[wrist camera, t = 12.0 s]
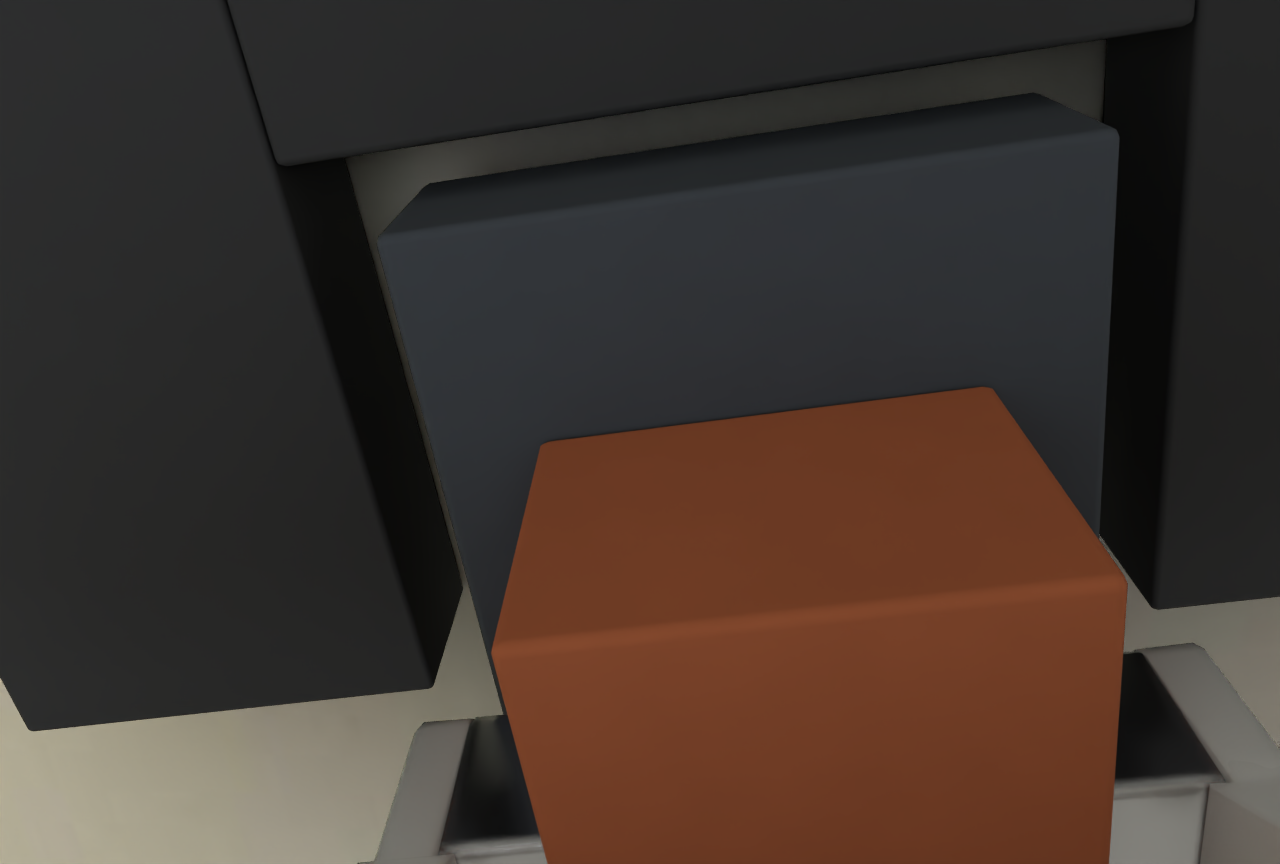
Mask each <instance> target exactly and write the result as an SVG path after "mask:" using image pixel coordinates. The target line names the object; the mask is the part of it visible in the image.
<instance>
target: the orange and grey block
mask: <svg viewBox="0 0 1280 864" xmlns="http://www.w3.org/2000/svg"><path fill="white" fill-rule="evenodd" d="M1119 139H1120V137H1119V134H1118V132H1117V129H1115V128H1112V127H1110V126H1108V125H1106V124H1104V123H1101V122H1099V121H1097V120H1095V119H1093V118H1091V117H1088V116H1086V115H1084V114H1082V113H1080V112H1077V111H1075V110H1073V109H1071V108H1069V107H1066V106H1064V105H1062V104H1060V103H1058V102H1056V101H1053V100H1051V99H1049V98H1047V97H1045V96H1042V95H1040V94H1036V93H1028V94H1021V95H1015V96H1008V97H1001V98H995V99H988V100H981V101H975V102H968V103H961V104H955V105H948V106H941V107H935V108H928V109H921V110H915V111H908V112H901V113H895V114H888V115H881V116H875V117H868V118H861V119H855V120H848V121H842V122H835V123H828V124H822V125H815V126H808V127H802V128H795V129H788V130H782V131H775V132H768V133H762V134H755V135H748V136H742V137H735V138H728V139H722V140H715V141H708V142H702V143H695V144H688V145H682V146H675V147H668V148H662V149H655V150H648V151H642V152H635V153H628V154H622V155H615V156H608V157H602V158H595V159H588V160H582V161H575V162H568V163H562V164H555V165H548V166H542V167H535V168H528V169H522V170H515V171H508V172H502V173H495V174H488V175H482V176H475V177H468V178H462V179H455V180H448V181H442V182H435V183H429V184H428V185H426V186H425V187H424V188H423V189H422V190H421V191H420V192H419V193H418V194H417V195H416V196H415V197H414V198H413V200H412V201H411V202H410V203H409V204H408V205H407V206H406V207H405V208H404V209H403V210H402V212H401V213H400V214H399V215H398V216H397V217H396V218H395V219H394V220H393V221H392V222H391V224H390V225H389V226H388V227H387V228H386V229H385V230H384V231H383V232H382V233H381V234H380V236H379V237H378V241H377V248H378V251H379V255H380V259H381V262H382V266H383V270H384V274H385V277H386V281H387V285H388V288H389V292H390V296H391V299H392V303H393V307H394V311H395V314H396V318H397V322H398V325H399V329H400V333H401V336H402V340H403V344H404V348H405V351H406V355H407V359H408V362H409V366H410V370H411V374H412V377H413V381H414V385H415V388H416V392H417V396H418V399H419V403H420V407H421V411H422V414H423V418H424V422H425V425H426V429H427V433H428V437H429V440H430V444H431V448H432V451H433V455H434V459H435V462H436V466H437V470H438V474H439V477H440V481H441V485H442V488H443V492H444V496H445V499H446V503H447V507H448V511H449V514H450V518H451V522H452V525H453V529H454V533H455V537H456V540H457V544H458V548H459V551H460V555H461V559H462V562H463V566H464V570H465V574H466V577H467V581H468V585H469V588H470V592H471V596H472V600H473V603H474V607H475V611H476V614H477V618H478V622H479V625H480V629H481V633H482V637H483V640H484V644H485V648H486V651H487V655H488V659H489V662H490V666H491V670H492V674H493V677H494V681H495V685H496V688H497V692H498V696H499V700H500V703H501V707H502V711H503V714H504V715H508V718H509V722H510V726H511V730H512V733H513V737H514V741H515V744H516V748H517V752H518V756H519V759H520V763H521V767H522V771H523V774H524V778H525V782H526V786H527V789H528V793H529V797H530V800H531V804H532V808H533V812H534V815H535V819H536V823H537V827H538V830H539V834H540V838H541V842H542V845H543V849H544V853H545V857H546V860H547V864H1109V856H1110V841H1111V827H1112V812H1113V797H1114V782H1115V767H1116V752H1117V737H1118V722H1119V707H1120V693H1121V678H1122V663H1123V648H1124V633H1125V618H1126V603H1127V587H1128V583H1127V581H1126V579H1125V577H1124V575H1123V573H1122V572H1121V571H1120V569H1119V568H1118V566H1117V565H1116V564H1115V562H1114V561H1113V559H1112V558H1111V556H1110V555H1109V554H1108V552H1107V551H1106V549H1105V548H1104V546H1103V545H1102V544H1101V542H1100V541H1099V529H1100V509H1101V490H1102V470H1103V451H1104V431H1105V412H1106V392H1107V373H1108V353H1109V334H1110V314H1111V295H1112V275H1113V256H1114V236H1115V217H1116V197H1117V178H1118V158H1119Z"/></svg>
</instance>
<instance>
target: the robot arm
mask: <svg viewBox="0 0 1280 864" xmlns="http://www.w3.org/2000/svg"><path fill="white" fill-rule="evenodd" d="M357 864H547V860H546V857H545V853H544V849H543V845H542V842H541V838H540V834H539V830H538V827H537V823H536V819H535V815H534V812H533V808H532V804H531V800H530V797H529V793H528V789H527V786H526V782H525V778H524V774H523V771H522V767H521V763H520V759H519V756H518V752H517V748H516V744H515V741H514V737H513V733H512V730H511V726H510V722H509V718H508V715H497V716H484V717H476V718H475V719H458V720H446V721H434V722H424V723H423V724H422V725H421V726H420V728H419V729H418V730H417V731H416V732H415V734H414V736H413V739H412V742H411V746H410V749H409V752H408V755H407V758H406V761H405V765H404V768H403V771H402V774H401V777H400V780H399V784H398V787H397V790H396V793H395V796H394V799H393V803H392V806H391V809H390V812H389V815H388V819H387V822H386V825H385V828H384V831H383V834H382V838H381V841H380V844H379V847H378V850H377V853H376V857H375V860H374V861H371V862H362V863H357ZM1109 864H1280V748H1279V747H1278V746H1277V744H1276V743H1275V742H1274V741H1273V739H1272V738H1271V737H1270V735H1269V734H1268V733H1267V731H1266V730H1265V729H1264V727H1263V726H1262V725H1261V723H1260V722H1259V721H1258V719H1257V718H1256V717H1255V715H1254V714H1253V713H1252V711H1251V710H1250V709H1249V707H1248V706H1247V705H1246V703H1245V702H1244V701H1243V699H1242V698H1241V697H1240V696H1239V694H1238V693H1237V692H1236V690H1235V689H1234V688H1233V686H1232V685H1231V684H1230V682H1229V681H1228V680H1227V678H1226V677H1225V676H1224V674H1223V673H1222V672H1221V670H1220V669H1219V668H1218V666H1217V665H1216V664H1215V662H1214V661H1213V660H1212V658H1211V657H1210V656H1209V654H1208V653H1207V652H1206V651H1205V649H1204V648H1202V647H1200V646H1198V645H1196V644H1195V643H1186V644H1178V645H1170V646H1161V647H1153V648H1145V649H1137V650H1134V652H1123V663H1122V678H1121V693H1120V707H1119V722H1118V737H1117V752H1116V767H1115V782H1114V797H1113V812H1112V827H1111V841H1110V856H1109Z"/></svg>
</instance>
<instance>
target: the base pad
mask: <svg viewBox="0 0 1280 864" xmlns="http://www.w3.org/2000/svg"><path fill="white" fill-rule="evenodd" d="M1102 39H1107V57H1106V81H1105V105H1104V124H1106V125H1108V126H1110V127H1112V128H1115V129H1117V132H1118V134H1119V137H1120V139H1119V158H1118V178H1117V197H1116V217H1115V236H1114V256H1113V275H1112V295H1111V314H1110V334H1109V353H1108V373H1107V392H1106V412H1105V431H1104V451H1103V470H1102V490H1101V509H1100V529H1099V534H1100V536H1101V537H1102V538H1103V540H1104V541H1105V543H1106V544H1107V545H1108V547H1109V548H1110V550H1111V551H1112V552H1113V554H1114V555H1115V557H1116V558H1117V560H1118V561H1119V562H1120V564H1121V565H1122V567H1123V568H1124V569H1125V571H1126V572H1127V574H1128V575H1129V576H1130V578H1131V579H1132V581H1133V582H1134V584H1135V585H1136V586H1137V588H1138V589H1139V591H1140V592H1141V593H1142V595H1143V596H1144V598H1145V599H1146V600H1147V602H1148V603H1149V605H1150V606H1151V607H1152V608H1153V609H1158V610H1160V609H1169V608H1178V607H1188V606H1197V605H1206V604H1216V603H1225V602H1234V601H1243V600H1253V599H1262V598H1271V597H1280V0H0V678H1V680H2V681H3V683H4V685H5V687H6V689H7V691H8V693H9V695H10V696H11V698H12V700H13V702H14V704H15V706H16V708H17V709H18V711H19V713H20V715H21V717H22V719H23V721H24V722H25V724H26V726H27V728H28V729H29V730H30V731H41V730H50V729H59V728H68V727H78V726H87V725H96V724H105V723H115V722H124V721H133V720H143V719H152V718H161V717H170V716H180V715H189V714H198V713H207V712H217V711H226V710H235V709H245V708H254V707H263V706H272V705H282V704H291V703H300V702H309V701H319V700H328V699H337V698H347V697H356V696H365V695H374V694H384V693H393V692H402V691H411V690H421V689H429V688H431V687H432V686H433V685H434V682H435V679H436V676H437V672H438V669H439V666H440V663H441V659H442V656H443V653H444V650H445V646H446V643H447V640H448V636H449V633H450V630H451V627H452V623H453V620H454V617H455V614H456V610H457V607H458V604H459V601H460V597H461V594H462V590H463V587H462V584H461V580H460V577H459V573H458V569H457V566H456V562H455V558H454V555H453V551H452V548H451V544H450V540H449V537H448V533H447V529H446V526H445V522H444V519H443V515H442V511H441V508H440V504H439V500H438V497H437V493H436V490H435V486H434V482H433V479H432V475H431V471H430V468H429V464H428V461H427V457H426V453H425V450H424V446H423V442H422V439H421V435H420V432H419V428H418V424H417V421H416V417H415V413H414V410H413V406H412V403H411V399H410V395H409V392H408V388H407V384H406V381H405V377H404V374H403V370H402V366H401V363H400V359H399V355H398V352H397V348H396V345H395V341H394V337H393V334H392V330H391V326H390V323H389V319H388V316H387V312H386V308H385V305H384V301H383V297H382V294H381V290H380V287H379V283H378V279H377V276H376V272H375V268H374V265H373V261H372V258H371V254H370V250H369V247H368V243H367V239H366V236H365V232H364V229H363V225H362V221H361V218H360V214H359V210H358V207H357V203H356V200H355V196H354V192H353V189H352V185H351V181H350V178H349V174H348V171H347V167H346V163H345V160H344V157H350V156H357V155H363V154H370V153H376V152H382V151H389V150H395V149H402V148H408V147H415V146H421V145H427V144H434V143H440V142H447V141H453V140H459V139H466V138H472V137H479V136H485V135H492V134H498V133H504V132H511V131H517V130H524V129H530V128H537V127H543V126H549V125H556V124H562V123H569V122H575V121H581V120H588V119H594V118H601V117H607V116H614V115H620V114H626V113H633V112H639V111H646V110H652V109H659V108H665V107H671V106H678V105H684V104H691V103H697V102H703V101H710V100H716V99H723V98H729V97H736V96H742V95H748V94H755V93H761V92H768V91H774V90H781V89H787V88H793V87H800V86H806V85H813V84H819V83H825V82H832V81H838V80H845V79H851V78H858V77H864V76H870V75H877V74H883V73H890V72H896V71H903V70H909V69H915V68H922V67H928V66H935V65H941V64H947V63H954V62H960V61H967V60H973V59H980V58H986V57H992V56H999V55H1005V54H1012V53H1018V52H1025V51H1031V50H1037V49H1044V48H1050V47H1057V46H1063V45H1069V44H1076V43H1082V42H1089V41H1095V40H1102Z"/></svg>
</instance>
